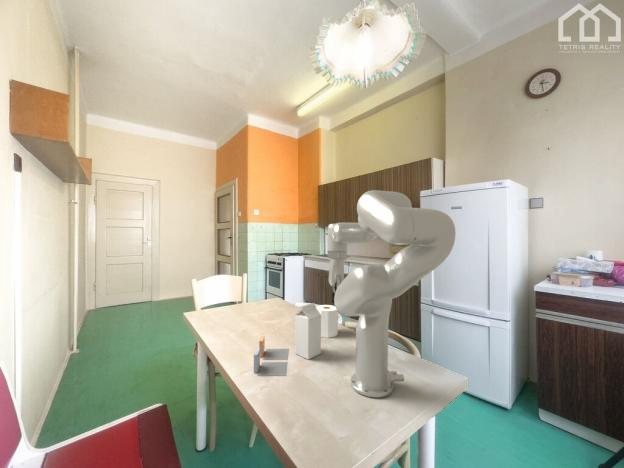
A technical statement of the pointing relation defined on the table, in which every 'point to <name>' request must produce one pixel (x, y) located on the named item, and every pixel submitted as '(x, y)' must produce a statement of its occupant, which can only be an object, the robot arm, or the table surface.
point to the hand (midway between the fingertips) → (336, 302)
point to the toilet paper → (328, 320)
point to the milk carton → (308, 332)
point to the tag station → (270, 354)
